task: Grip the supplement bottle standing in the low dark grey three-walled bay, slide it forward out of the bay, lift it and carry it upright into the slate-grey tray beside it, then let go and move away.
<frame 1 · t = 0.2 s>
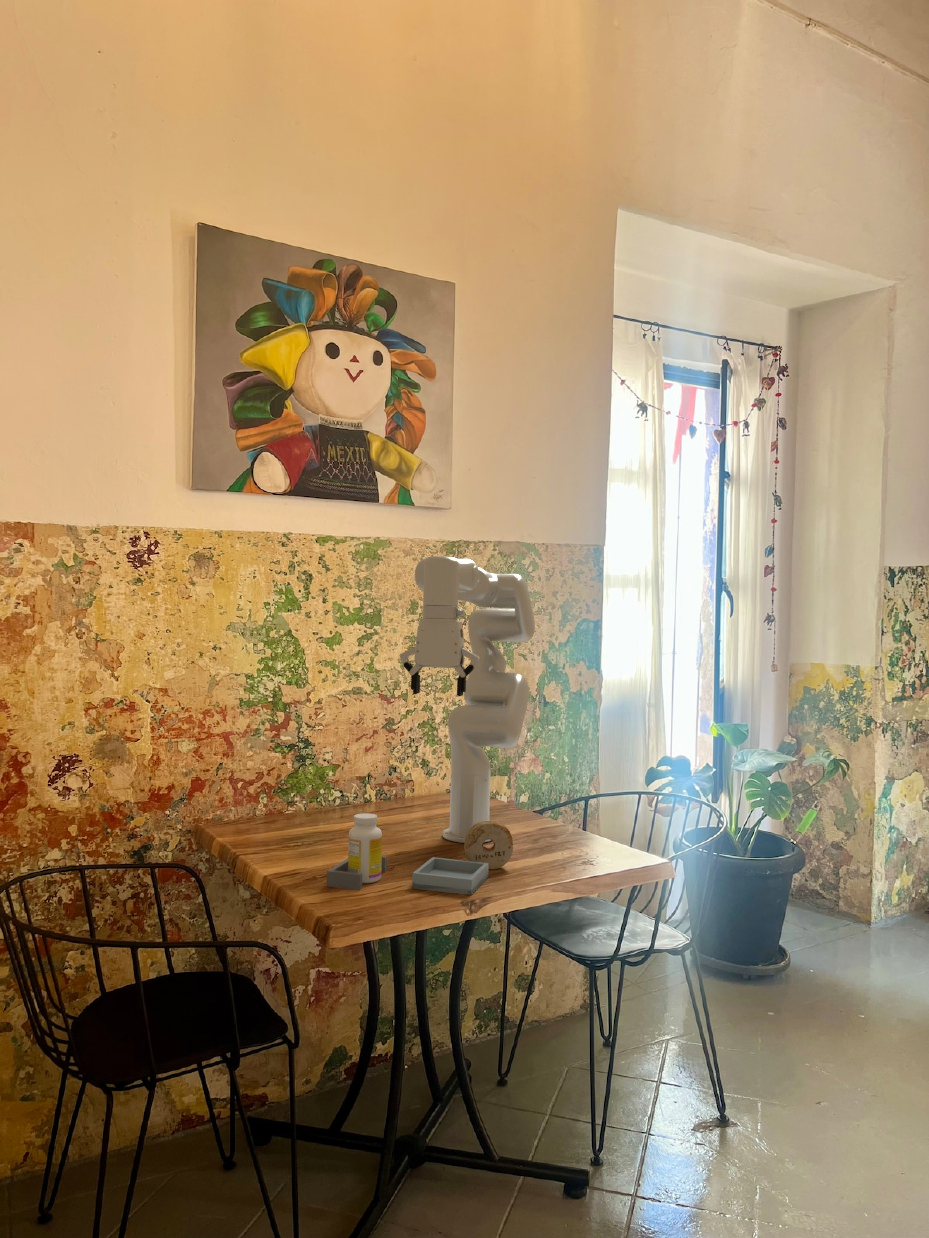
hand: (438, 694, 195), 36 cm above the table, tool pointing down, fingers open, 9 cm apart
stone disc: (487, 868, 194), on the table
supplement bottle: (364, 880, 184), on the table
tray: (451, 882, 183), on the table
bay: (364, 879, 184), on the table
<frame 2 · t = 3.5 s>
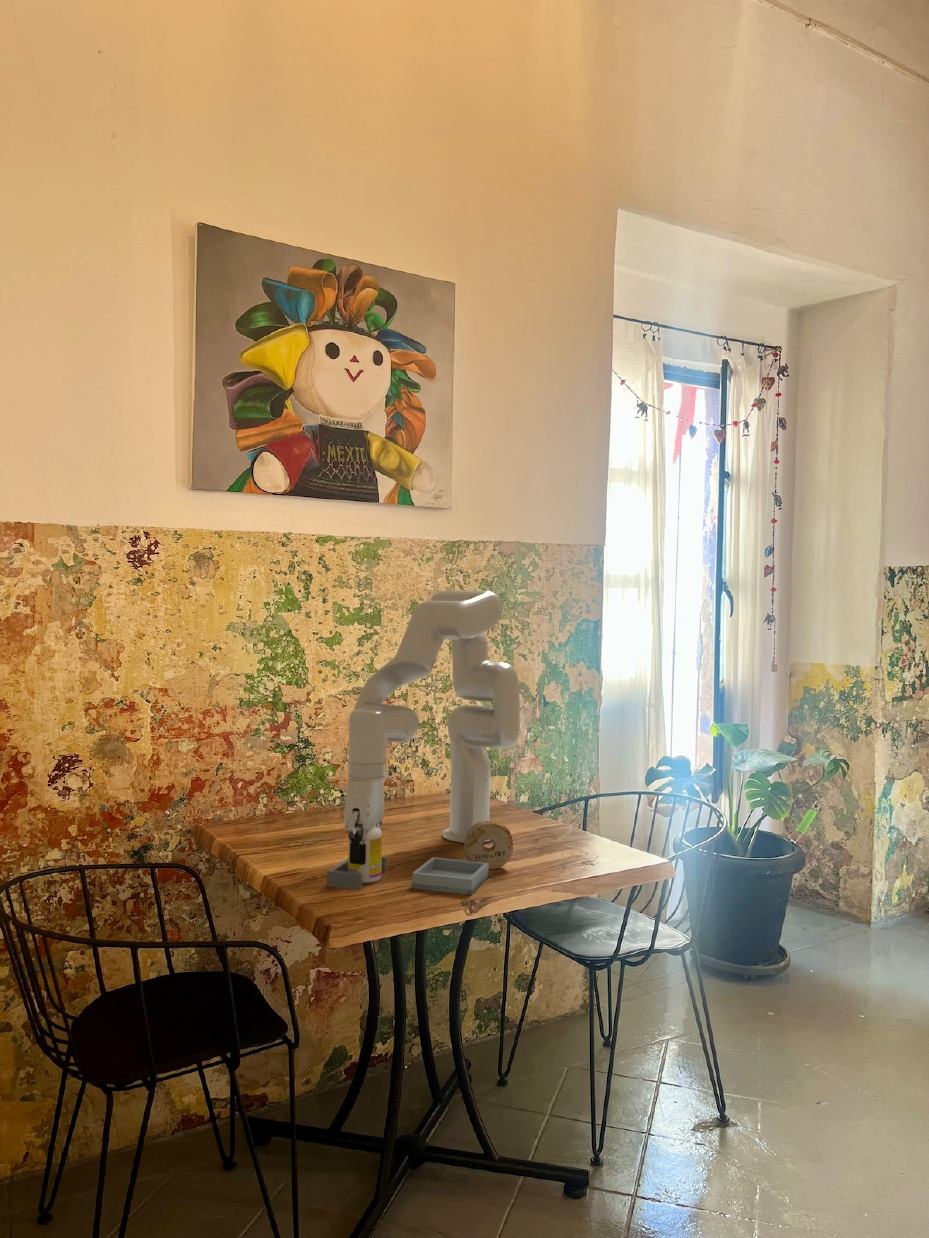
hand: (365, 858, 184), 4 cm above the table, tool pointing down, fingers closed on supplement bottle, 6 cm apart
supplement bottle: (364, 880, 184), on the table, touching gripper
everything else where it was.
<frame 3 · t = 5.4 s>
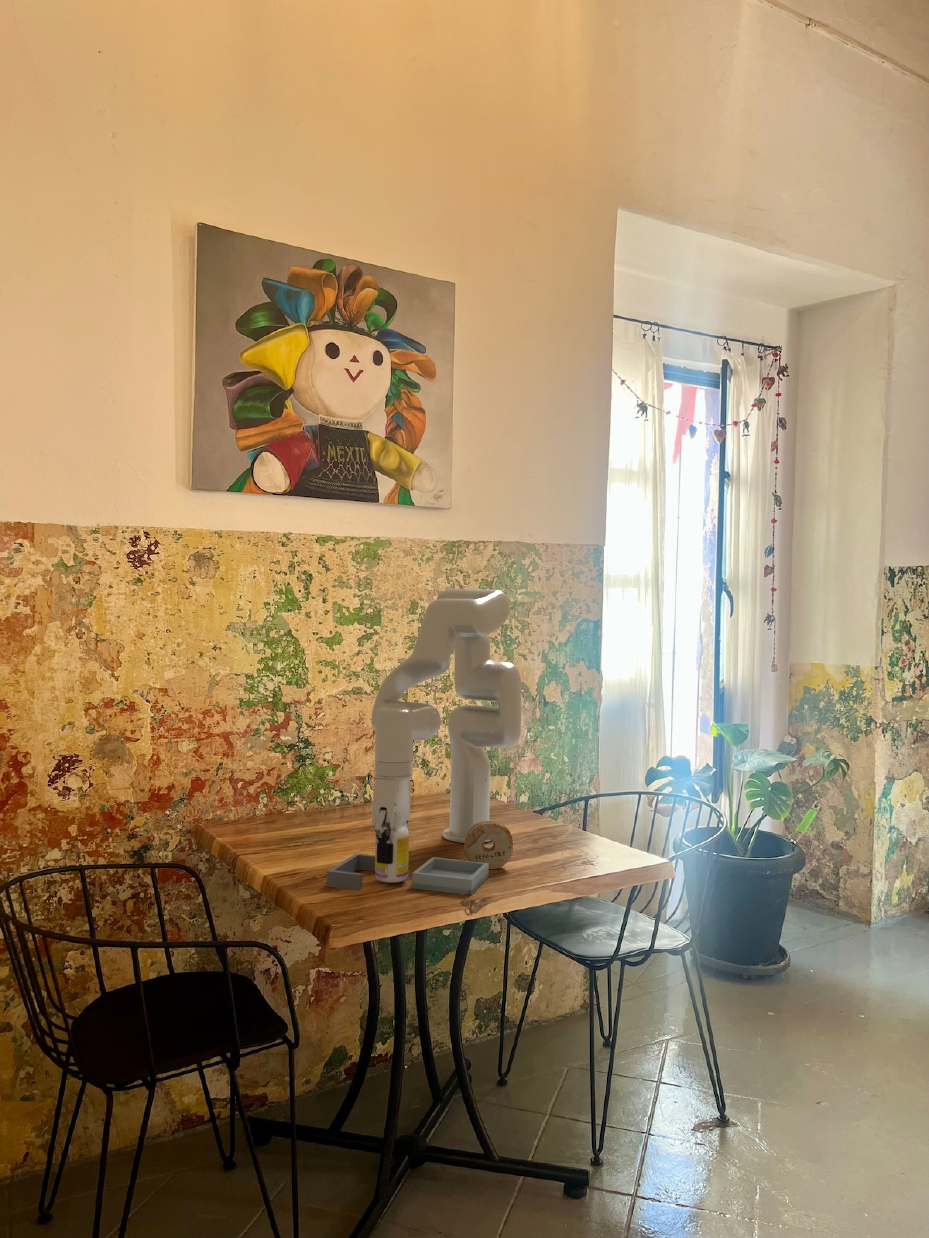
hand: (391, 857, 183), 5 cm above the table, tool pointing down, fingers closed on supplement bottle, 6 cm apart
supplement bottle: (391, 879, 183), on the table, touching gripper
everything else where it was.
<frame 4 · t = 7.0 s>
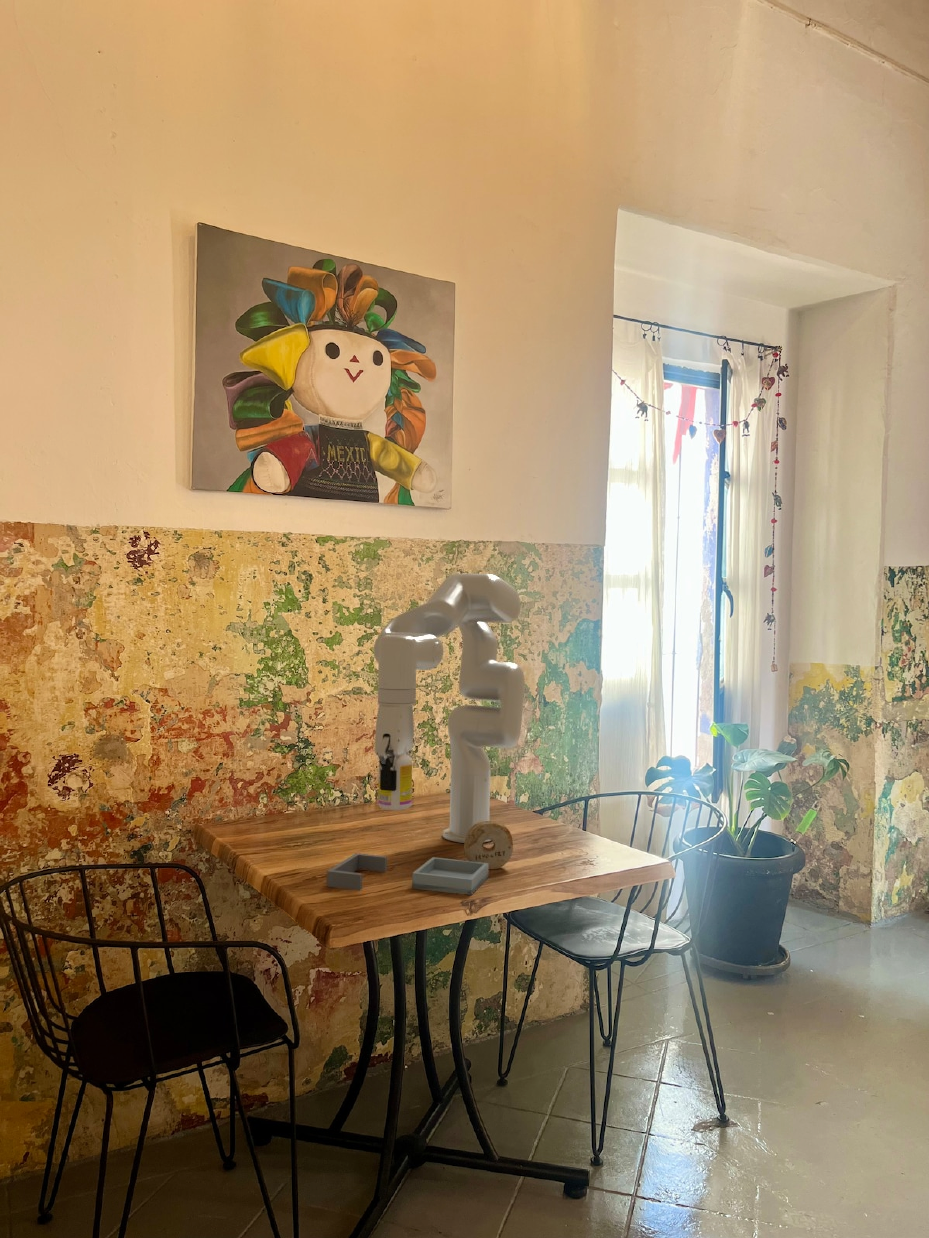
hand: (395, 785, 182), 19 cm above the table, tool pointing down, fingers closed on supplement bottle, 6 cm apart
supplement bottle: (394, 808, 182), point 15 cm above the table, touching gripper
everything else where it was.
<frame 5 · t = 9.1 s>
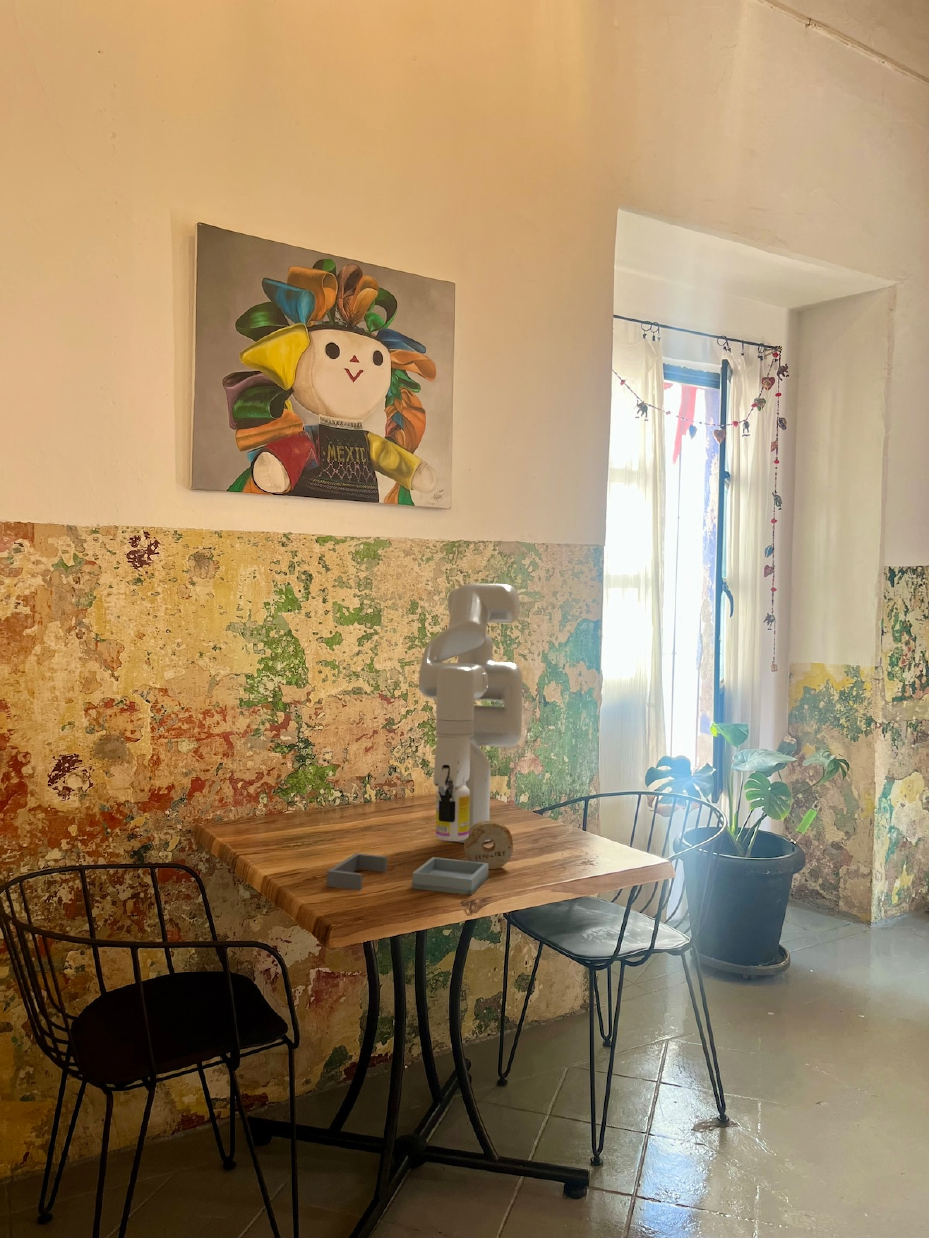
hand: (452, 816, 183), 13 cm above the table, tool pointing down, fingers closed on supplement bottle, 6 cm apart
supplement bottle: (452, 838, 183), point 9 cm above the table, touching gripper
everything else where it was.
when the fingers open (7 cm above the table, at t = 10.7 s): supplement bottle drops 2 cm, resting on tray.
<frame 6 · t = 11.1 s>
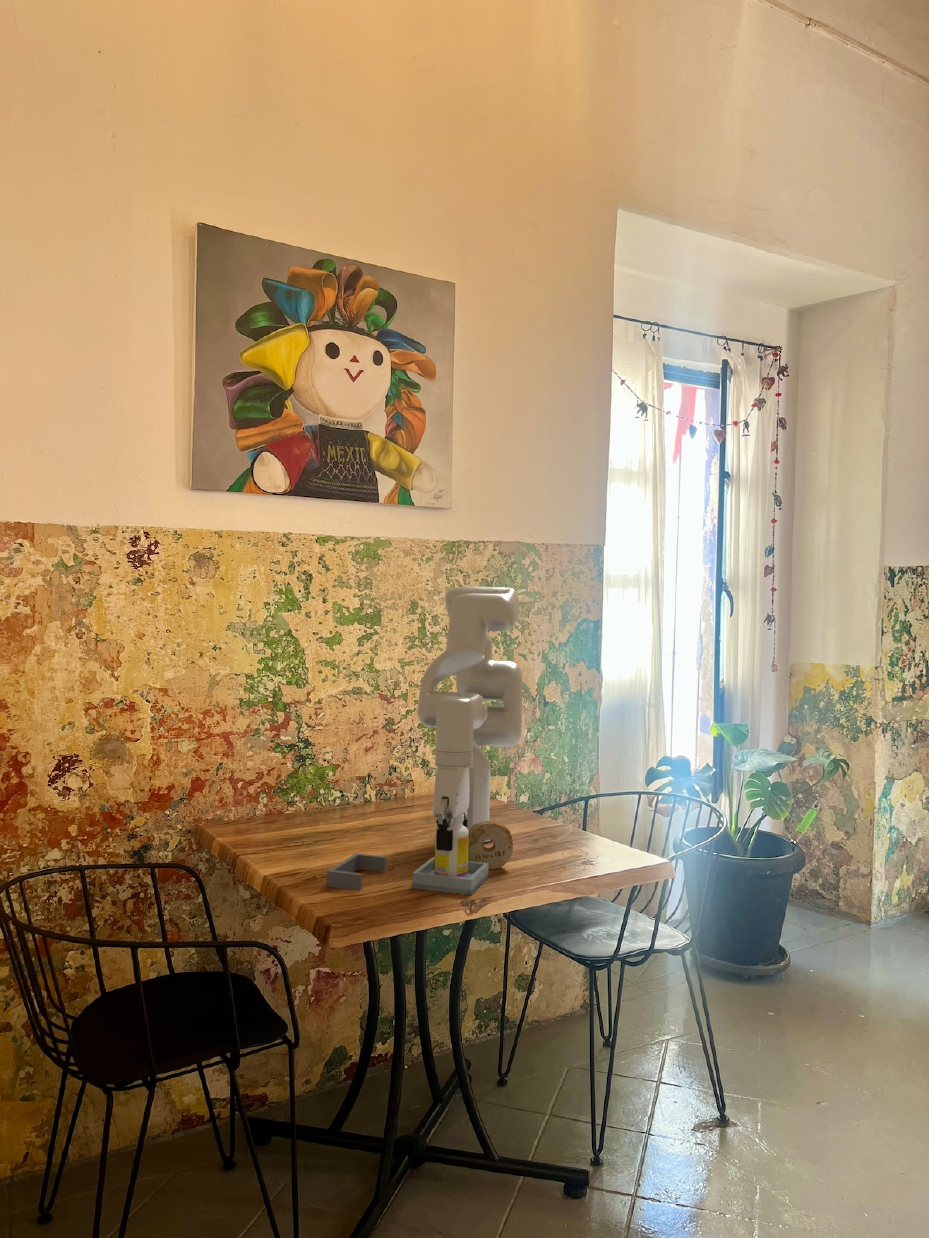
hand: (451, 844, 183), 8 cm above the table, tool pointing down, fingers open, 9 cm apart
supplement bottle: (451, 879, 183), point 1 cm above the table, touching tray
everything else where it was.
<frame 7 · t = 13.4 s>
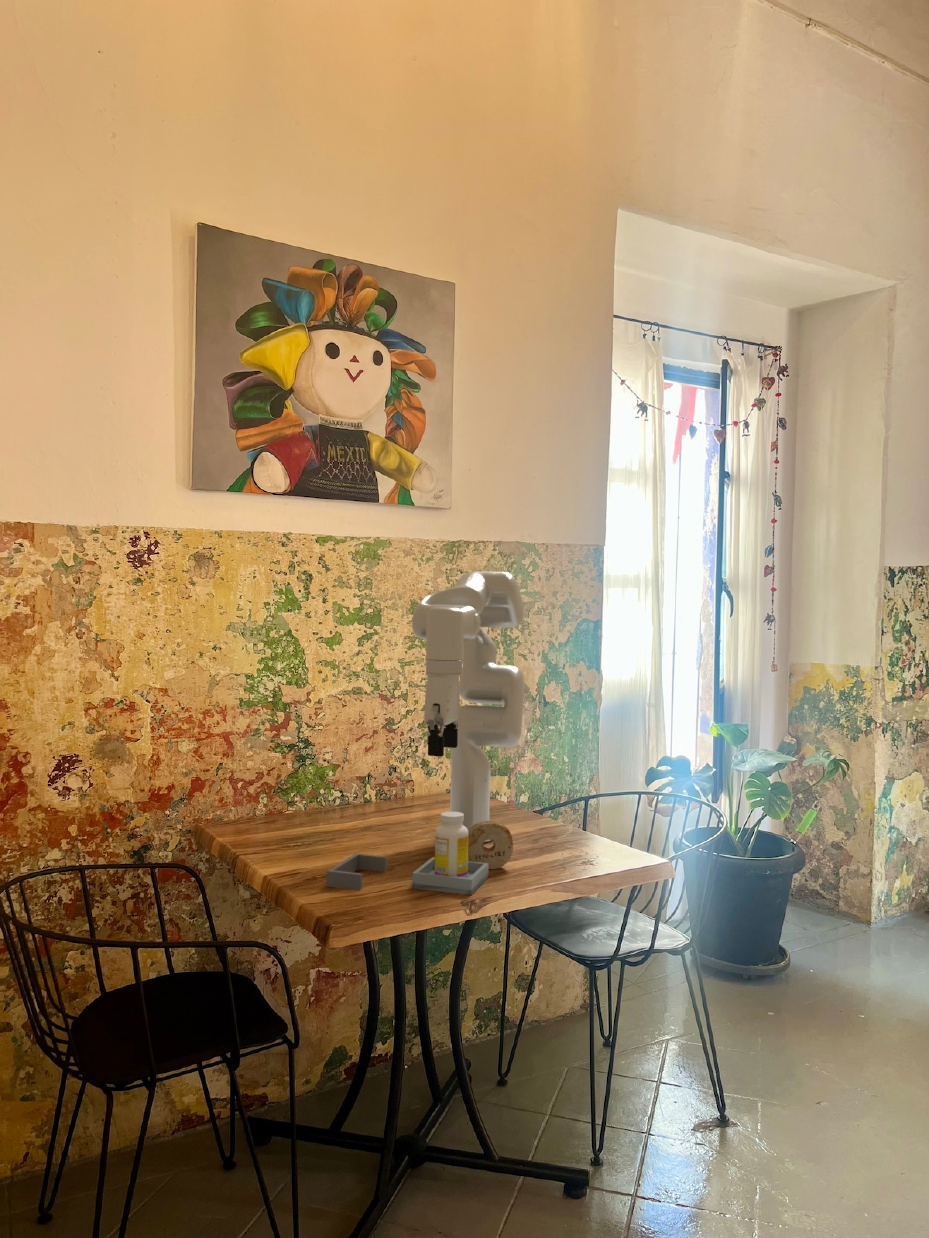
hand: (442, 751, 187), 26 cm above the table, tool pointing down, fingers open, 9 cm apart
nothing on the table moved.
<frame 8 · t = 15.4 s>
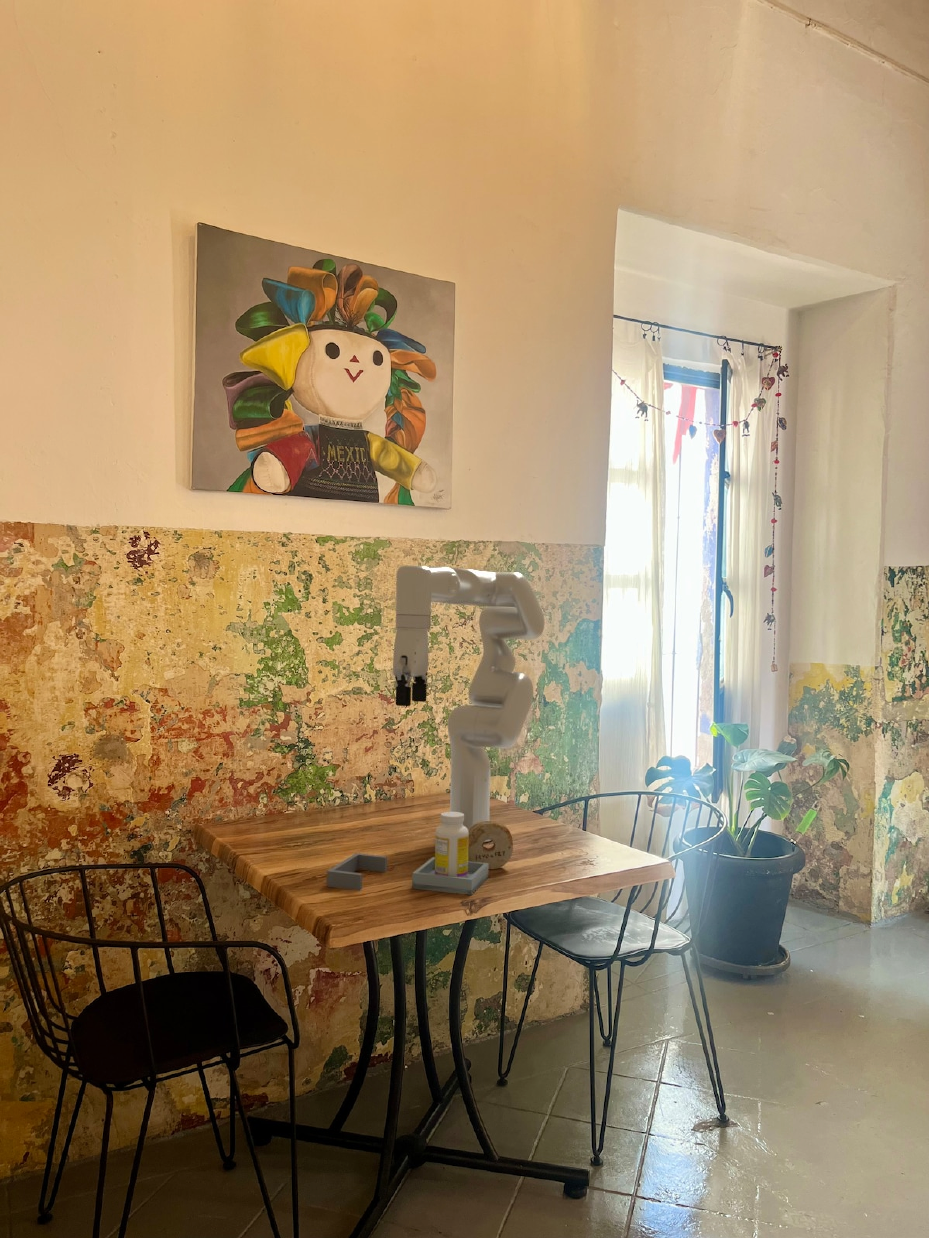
hand: (411, 703, 196), 34 cm above the table, tool pointing down, fingers open, 9 cm apart
nothing on the table moved.
at the end: supplement bottle 0.1 cm off-centre on the tray, point 0.8 cm above the tray's base; supplement bottle tilted 0°; the gripper is holding nothing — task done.
